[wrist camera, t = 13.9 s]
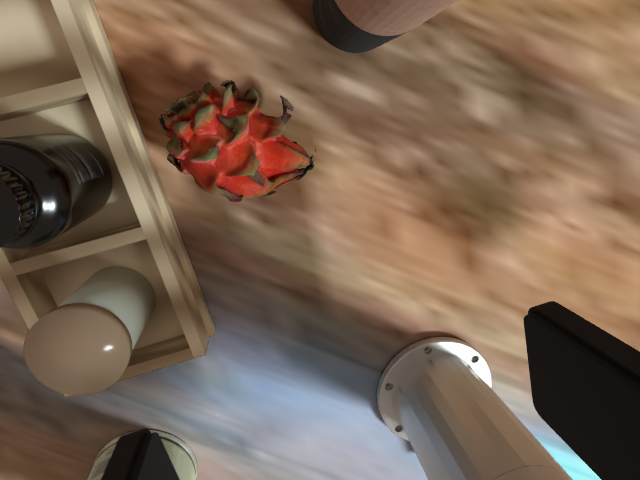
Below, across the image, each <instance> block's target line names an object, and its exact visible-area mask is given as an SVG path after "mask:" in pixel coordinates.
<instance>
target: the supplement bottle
mask: <svg viewBox="0 0 640 480" xmlns="http://www.w3.org/2000/svg"><path fill="white" fill-rule="evenodd" d="M112 187H113V178H112V173H111V169H110V166H109V164H108V162H107V160H106V159H105V157H104V156H103V155H102V153H101V152H100V151H99V150H98V149H97V148H96V147H94V146H93V145H92V144H91V143H89V142H88V141H86V140H84V139H82V138H80V137H77V136H74V135H70V134H63V133H50V134H38V135H27V136H16V137H5V138H0V248H5V249H15V250H21V249H31V248H35V247H39V246H42V245H44V244H46V243H48V242H50V241H52V240H54V239H55V238H57V237H59V236H60V235H62V234H64V233H65V232H67V231H69V230H70V229H72V228H73V227H75V226H77V225H78V224H80V223H82V222H83V221H85V220H86V219H88V218H90V217H91V216H93V215H94V214H96V213H97V212H99V211H100V210H101V209H102V208H103V207H104V206H105V204H106V203H107V201H108V200H109V198H110V195H111V192H112Z"/></svg>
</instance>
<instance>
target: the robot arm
mask: <svg viewBox="0 0 640 480" xmlns="http://www.w3.org/2000/svg"><path fill="white" fill-rule="evenodd" d="M524 328H525V336H526V345H527V354H528V363H529V372H530V381H531V389H532V398H533V404H534V407H535V409H536V411H537V413H538V414H539V415H540V417H541V418H542V419H543V420H544V421H545V422H546V423H547V424H548V425H549V426H550V427H551V428H552V429H553V430H554V431H555V432H556V433H557V434H558V435H559V436H560V437H561V438H562V439H563V440H564V441H565V443H566V444H567V445H568V446H569V447H570V448H571V449H572V450H573V451H574V452H575V453H576V454H577V455H578V456H579V457H580V458H581V459H582V460H583V461H584V462H585V463H586V464H587V465H588V466H589V467H590V468H591V469H592V470H593V471H594V472H595V473H596V474H597V475H598V476H599V477H600V479H601V480H640V352H639V351H638V350H636V349H634V348H632V347H631V346H629V345H627V344H626V343H624V342H622V341H621V340H619V339H617V338H616V337H614V336H612V335H611V334H609V333H607V332H606V331H604V330H602V329H600V328H599V327H597V326H595V325H594V324H592V323H590V322H589V321H587V320H585V319H584V318H582V317H580V316H579V315H577V314H575V313H574V312H572V311H570V310H568V309H567V308H565V307H563V306H562V305H560V304H558V303H556V302H554V301H551V302H547V303H544V304H541V305H538V306H535V307H531V308H530V309H529V311H528V315H526V316H525V317H524ZM491 387H492V380H491V373H490V369H489V366H488V364H487V362H486V361H485V359H484V358H483V357H482V355H481V354H480V353H479V352H478V351H477V350H476V349H475V348H474V347H472V346H471V345H470V344H468V343H466V342H464V341H462V340H459V339H456V338H451V337H433V338H428V339H424V340H421V341H418V342H416V343H414V344H412V345H410V346H408V347H407V348H405V349H404V350H402V351H401V352H400V353H399V354H397V355H396V356H395V357H394V358H393V359H392V360H391V362H390V363H389V364H388V366H387V367H386V368H385V370H384V372H383V374H382V376H381V378H380V381H379V384H378V388H377V404H378V409H379V411H380V414H381V417H382V419H383V420H384V422H385V424H386V426H387V427H388V428H389V429H390V430H391V431H392V432H393V433H394V434H396V435H397V436H398V437H400V438H403V439H405V440H407V441H410V443H411V445H412V447H413V449H414V451H415V453H416V456H417V458H418V460H419V462H420V464H421V466H422V468H423V470H424V472H425V474H426V476H427V478H428V480H573V479H572V478H571V477H570V476H569V475H568V474H567V473H566V472H565V470H564V469H563V468H562V467H561V466H560V465H559V464H558V463H557V461H556V460H555V459H554V458H553V457H552V456H551V455H550V454H549V452H548V451H547V450H546V449H545V448H544V447H543V446H542V445H541V443H540V442H539V441H538V440H537V439H536V438H535V437H534V436H533V434H532V433H531V432H530V431H529V430H528V429H527V428H526V427H525V425H524V424H523V423H522V422H521V421H520V420H519V419H518V418H517V417H516V415H515V414H514V413H513V412H512V411H511V410H510V409H509V408H508V406H507V405H506V404H505V403H504V402H503V401H502V400H501V399H500V397H499V396H498V395H497V394H496V393H495V392H494V391H493V390H492V388H491ZM101 480H180V479H179V477H178V475H177V473H176V470H175V468H174V466H173V464H172V462H171V460H170V457H169V455H168V453H167V451H166V449H165V447H164V444H163V442H162V440H161V438H160V436H159V434H158V433H157V432H154V433H151V432H150V431H149V430H148V429H142V430H139V431H136V432H133V433H129V434H126V435H123V436H121V437H120V438H119V440H118V442H117V444H116V446H115V449H114V451H113V453H112V456H111V458H110V460H109V462H108V465H107V467H106V469H105V472H104V474H103V476H102V478H101Z"/></svg>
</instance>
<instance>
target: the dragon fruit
mask: <svg viewBox="0 0 640 480" xmlns="http://www.w3.org/2000/svg"><path fill="white" fill-rule="evenodd" d="M221 86H225V87H226V90H225V92H224V95H223V96H220V95H219V93H218V92H217V90H216V89H215V88H214V87H213V86H211V84H210V83H208V82H207V83H206V84H205V85H204V87H203V91H202V92H200V91H199V92H197V91H193V92H191V93H190V94H188V95H187V96H186V98H179V99H177V101H176V103H173V105H172V106H170V107H168V108H166V109H165V112H170V114H167V115H166V114H164V120H163V117H162V115H161V119H160V118H159V119H160V123H161V128H162V131H163V133H164V134H165V135H166V136H168V137H170V138H171V141H170V142H168V143H167V146H166V148H167V150H168V151H169V155H168V157H167V160H168V161H169V162H171V163H172V164H173V165H174V166H176V168H177V169H178V170H179V171H180V172H182V173H184V174H187V173H190V174H191V175H192V176H193V177H194V179H195V182H196V184H197V185H198V186H199V187H200V188H202V189H203V190H204V191H206V192H209V193H212V194H220V195H223V196H225V197H227V198H228V199H229V200H230V201H231V202H240V201H241V200H242V199H246V198H255V197H263V196H264V195H266V196H267V195H271V194H273V193H275V192H276V191H273V190H274V189H276V188H278V187H280V186H282V185H284V184H287V183H290V182H294V181H297V180H299V179H300V178H302V177H303V176H304V175H305V174H306V173H307V171H308V170H311V169H312V168H313V167H314V164H313V162H312V157H313V155H312V156H311V157H309V156H308V155H307V153H306V151H305V150H304V149H303V147H301V146H300V145H298V144H297V142H291V141H289V140H288V139H287V138H285V137H284V136H283V134H282V133H283V132H284V130H285V129H286V127H287V126H286V123H287V121H288V120H289V119H290V118H291V116H292V115H290V114H288V113H287V108H288V109H289V110H291V111H293V107H292V105H291V104H290V102H289V101H288V100H286V99H285V98H284V97H282V96H280V98H281V99H282V104H283V115H282V117H279V118H276V117H273V116H266V115H264V114H262V113H260V112H259V110H258V104H259V100H260V99H259V95H258V92H257V91H256V90H255V89H248V90H247V91H246V93H245V95H244V97H241V98H239V91H238V88H237V87H236V85H235V83H234V82H233V81H232V80H231V81H229V80H227V81H224V82H223V83H222V84H221ZM240 100H241V101H240ZM246 100H248V101H247V102H242V101H246ZM315 148H316V147H315ZM315 151H316V150H315ZM178 160H179V163H178ZM313 161H314V160H313ZM308 163H310V165H309V166H307V167H306V168H302V169H295V168H297V167H299V166H304V165H306V164H308Z"/></svg>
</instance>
